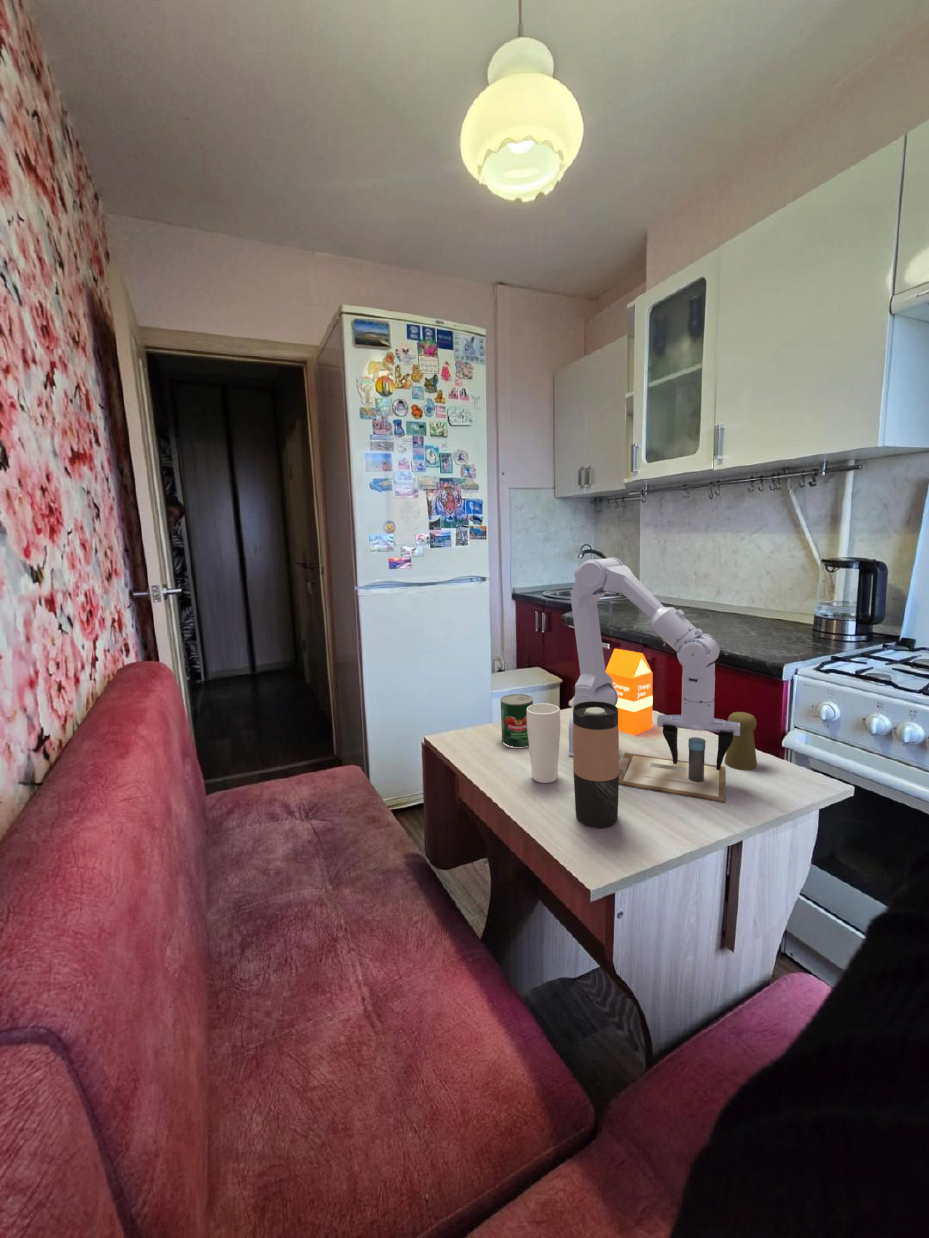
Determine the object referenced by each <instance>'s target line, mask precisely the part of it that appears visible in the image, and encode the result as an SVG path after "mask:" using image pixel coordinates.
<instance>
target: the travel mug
mask: <svg viewBox="0 0 929 1238" xmlns="http://www.w3.org/2000/svg"><path fill="white" fill-rule="evenodd" d="M572 713H573V756H572V757H573V758H572V759H573V763H572V765H573V768H572V769H573V787H574V788H573V789H574V806H575V807H574V809H575V817H576V820H577V821H578V822H579V823H580V824H581V825H583V826H585V827H587V828H592V829H601V830H602V829H608V828H609V829H610V828H611V827H614V826H615V825H616V823H617V822H618V819H619V818H618V816H619V794H620V793H619V790H620V789H619V788H620V787H619V786H620V785H619V761H620V753H619V752H620V743H619V742H620V741H619V739H620V736H619V734H620V733H619V730H618V708H617V707H616V706H614V705H612V704H609V703H605V702H596V701H591V702H582V703H578V704H576V705H575V706H574V705H573V708H572Z"/></svg>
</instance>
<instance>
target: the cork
mask: <svg viewBox="0 0 929 1238" xmlns="http://www.w3.org/2000/svg"><path fill="white" fill-rule="evenodd" d="M727 721H730V722H736V723H740V736H735V735H733V741H732V743H731V745H730V746H729V748H728V750H727V751H726V753H725V756H724V764H725V765H726V766H728V767H729V768H731V769H736V770H740V771H753V770H754V771H755V770H756V769H757V768H758V761H757V754H756V753H757V752H756V745H755V744H756V743H755V736H754V735H755V734H754V731H755V730H756V727H757V719H756V718H755V716H754V715H752V714H751V713H748V712H744V711H736V712H732V713H731V714H729V716H728V717H727Z"/></svg>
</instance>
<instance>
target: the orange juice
mask: <svg viewBox="0 0 929 1238" xmlns="http://www.w3.org/2000/svg"><path fill="white" fill-rule="evenodd" d="M605 671H606V673H607V674H608V675H609V676H610V677H611V678H612V683H613V686H614V688H615V689H616V691H617V694H618V702H617V704H616V707H617V708H618V730H619V731H620V732H622V733H626V734H629V735H632V736H636V735H639V734H641V733H644V732H645V731H648V730H651V729H653V702H654V701H653V700H654V697H653V680H654V679H653V675H654V674H653V671H652V670H651V667H650V665H649V663H648V662H647V659H646V657H645V655H644V653H643V652H636V651H632V650H626V649H619V648H614V649H613V652H612V654H611V656H610V659H609V661H608V664H607V666H606V667H605Z"/></svg>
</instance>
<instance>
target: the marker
mask: <svg viewBox="0 0 929 1238" xmlns="http://www.w3.org/2000/svg"><path fill="white" fill-rule="evenodd" d="M705 750H706V739H704V738H701V737H697V736H696V737H689V738H688V762H689V774H688V778H689V780H691V781H694V782H703V781H704V764H705V752H706V751H705Z"/></svg>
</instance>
